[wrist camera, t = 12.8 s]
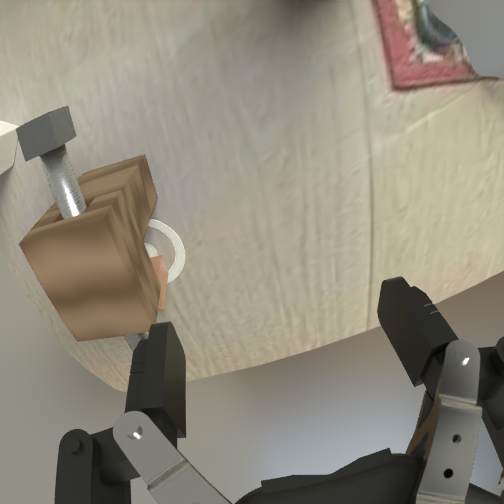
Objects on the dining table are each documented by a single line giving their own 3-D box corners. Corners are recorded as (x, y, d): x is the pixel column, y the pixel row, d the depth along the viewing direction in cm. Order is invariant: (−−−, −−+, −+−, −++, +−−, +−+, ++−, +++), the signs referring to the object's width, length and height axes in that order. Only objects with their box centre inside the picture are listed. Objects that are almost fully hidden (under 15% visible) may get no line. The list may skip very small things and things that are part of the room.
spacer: (114, 265, 40) (102, 300, 34) (161, 255, 40) (156, 289, 35) (122, 282, 42) (113, 317, 36) (168, 273, 42) (164, 308, 36)
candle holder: (147, 199, 40) (142, 212, 37) (202, 258, 47) (202, 276, 43) (91, 246, 43) (83, 263, 39) (144, 296, 49) (141, 315, 45)
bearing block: (83, 173, 37) (19, 243, 22) (145, 154, 37) (104, 217, 22) (112, 249, 43) (77, 341, 28) (169, 235, 43) (155, 330, 28)
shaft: (37, 119, 22) (15, 128, 18) (68, 105, 22) (47, 112, 18) (136, 345, 37) (132, 370, 34) (161, 342, 38) (159, 367, 34)
